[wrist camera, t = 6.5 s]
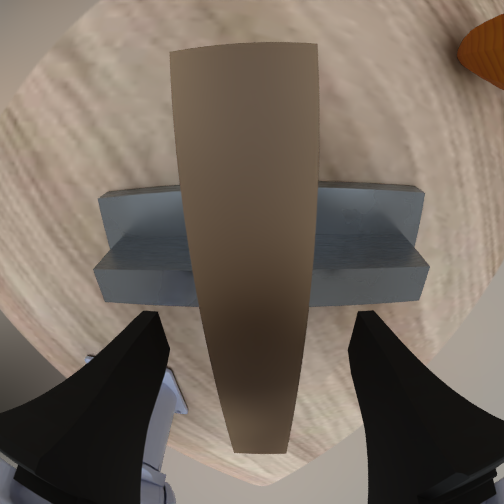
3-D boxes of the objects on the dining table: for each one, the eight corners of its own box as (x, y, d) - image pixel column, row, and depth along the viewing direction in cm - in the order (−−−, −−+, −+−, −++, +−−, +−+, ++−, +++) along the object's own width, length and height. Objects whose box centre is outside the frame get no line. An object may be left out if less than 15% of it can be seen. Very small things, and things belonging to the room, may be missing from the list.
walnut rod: (238, 399, 17) (234, 452, 13) (207, 71, 8) (169, 51, 5) (284, 399, 17) (286, 453, 13) (296, 68, 8) (317, 43, 4)
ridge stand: (132, 288, 18) (105, 333, 14) (107, 192, 15) (63, 223, 11) (394, 286, 17) (419, 333, 13) (415, 186, 14) (458, 217, 10)
